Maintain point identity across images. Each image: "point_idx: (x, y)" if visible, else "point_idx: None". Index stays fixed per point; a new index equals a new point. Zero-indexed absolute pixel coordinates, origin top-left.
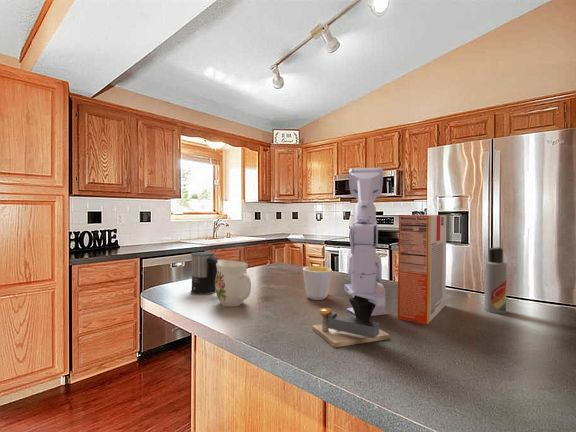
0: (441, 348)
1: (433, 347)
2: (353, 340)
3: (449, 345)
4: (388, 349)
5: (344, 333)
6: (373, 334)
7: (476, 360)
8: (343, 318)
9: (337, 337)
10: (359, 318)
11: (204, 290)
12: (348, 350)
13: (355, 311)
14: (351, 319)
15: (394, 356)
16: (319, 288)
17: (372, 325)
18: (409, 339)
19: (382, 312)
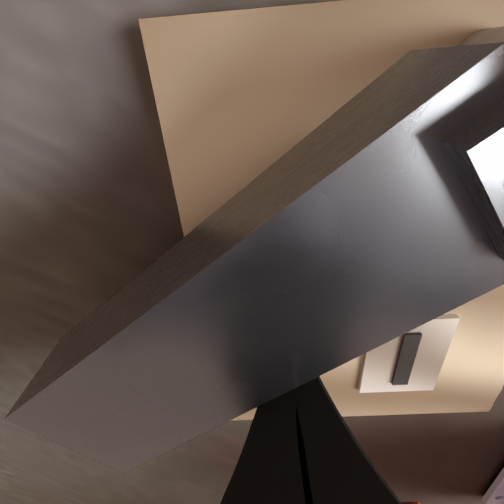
0: (104, 478)
1: None
2: (182, 225)
3: (128, 499)
4: None
5: None
6: (47, 359)
7: (13, 497)
8: (336, 286)
9: (266, 120)
10: (259, 414)
11: None
12: (87, 127)
13: (338, 471)
14: (265, 348)
15: (13, 333)
16: None
17: (57, 424)
18: (200, 448)
19: (502, 498)
